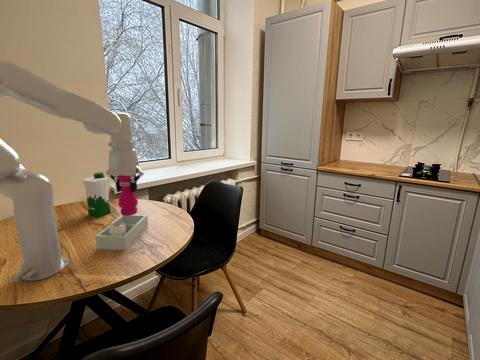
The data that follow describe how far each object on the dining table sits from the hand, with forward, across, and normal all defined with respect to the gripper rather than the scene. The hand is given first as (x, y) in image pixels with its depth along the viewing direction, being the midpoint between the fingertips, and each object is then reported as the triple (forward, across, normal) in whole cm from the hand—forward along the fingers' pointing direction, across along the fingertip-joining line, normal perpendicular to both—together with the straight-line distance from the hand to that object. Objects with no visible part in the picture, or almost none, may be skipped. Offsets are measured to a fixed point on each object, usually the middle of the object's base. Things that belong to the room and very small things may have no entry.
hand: (126, 191), depth 103 cm
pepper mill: (+10, 0, 0) cm, 10 cm away
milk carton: (+19, -24, +19) cm, 36 cm away
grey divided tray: (+18, 0, -5) cm, 19 cm away
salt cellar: (+17, 0, -10) cm, 20 cm away
